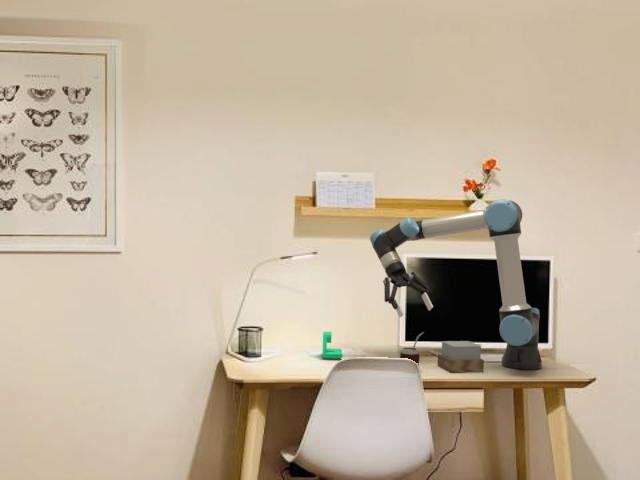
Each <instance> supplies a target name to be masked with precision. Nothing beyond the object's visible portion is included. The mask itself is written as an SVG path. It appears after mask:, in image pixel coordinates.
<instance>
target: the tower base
mask: <svg viewBox="0 0 640 480" xmlns="http://www.w3.org/2000/svg"><path fill="white" fill-rule="evenodd" d="M484 362H485V360H484V359H482V358H481V359H480V360H451V359H450V358H448V357H446V356H444V355H442V353H437V367H439V368H440V369H442V370H444V371H446V372H448V373H449V374H468V373H467V372H482V373H484V367H485V366H484V364H485V363H484Z"/></svg>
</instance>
